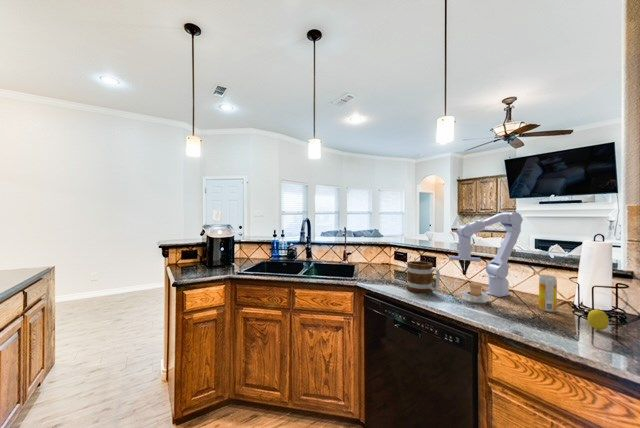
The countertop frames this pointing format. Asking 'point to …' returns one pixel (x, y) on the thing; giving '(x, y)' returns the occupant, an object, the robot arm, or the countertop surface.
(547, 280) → the beer can
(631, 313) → the countertop surface
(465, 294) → the round grey ashtray
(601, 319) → the lemon
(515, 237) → the robot arm
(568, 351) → the countertop surface
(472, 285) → the tan cup
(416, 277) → the mug
